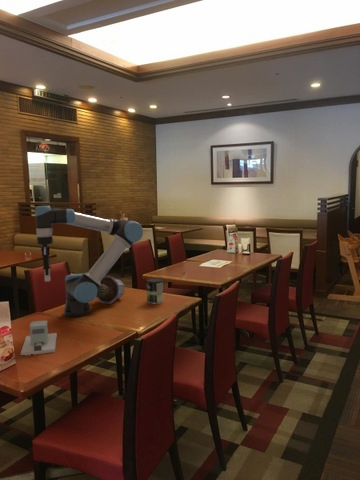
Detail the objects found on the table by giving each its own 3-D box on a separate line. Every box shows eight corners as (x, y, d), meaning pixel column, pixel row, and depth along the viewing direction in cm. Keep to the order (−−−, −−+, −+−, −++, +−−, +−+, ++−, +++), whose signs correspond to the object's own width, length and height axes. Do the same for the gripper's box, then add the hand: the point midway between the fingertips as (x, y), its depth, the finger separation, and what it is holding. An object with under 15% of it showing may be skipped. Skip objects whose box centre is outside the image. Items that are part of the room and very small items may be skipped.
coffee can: (149, 304, 241) (148, 282, 239) (145, 300, 251) (144, 278, 249) (165, 302, 244) (164, 281, 242) (161, 298, 254) (160, 277, 252)
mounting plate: (56, 335, 191) (56, 329, 191) (54, 351, 172) (54, 344, 172) (26, 339, 188) (26, 332, 187) (21, 355, 169) (20, 348, 168)
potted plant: (105, 274, 261) (80, 273, 232) (129, 277, 255) (107, 276, 227) (102, 301, 259) (77, 302, 231) (126, 304, 254) (103, 306, 225)
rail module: (48, 338, 184) (47, 320, 183) (47, 344, 177) (46, 325, 176) (32, 340, 182) (31, 321, 181) (30, 346, 175) (29, 326, 174)
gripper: (51, 237, 194) (54, 283, 197) (53, 234, 207) (55, 277, 210) (35, 238, 192) (39, 284, 195) (38, 235, 205) (41, 278, 208)
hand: (47, 281), depth 202 cm, fingers closed
